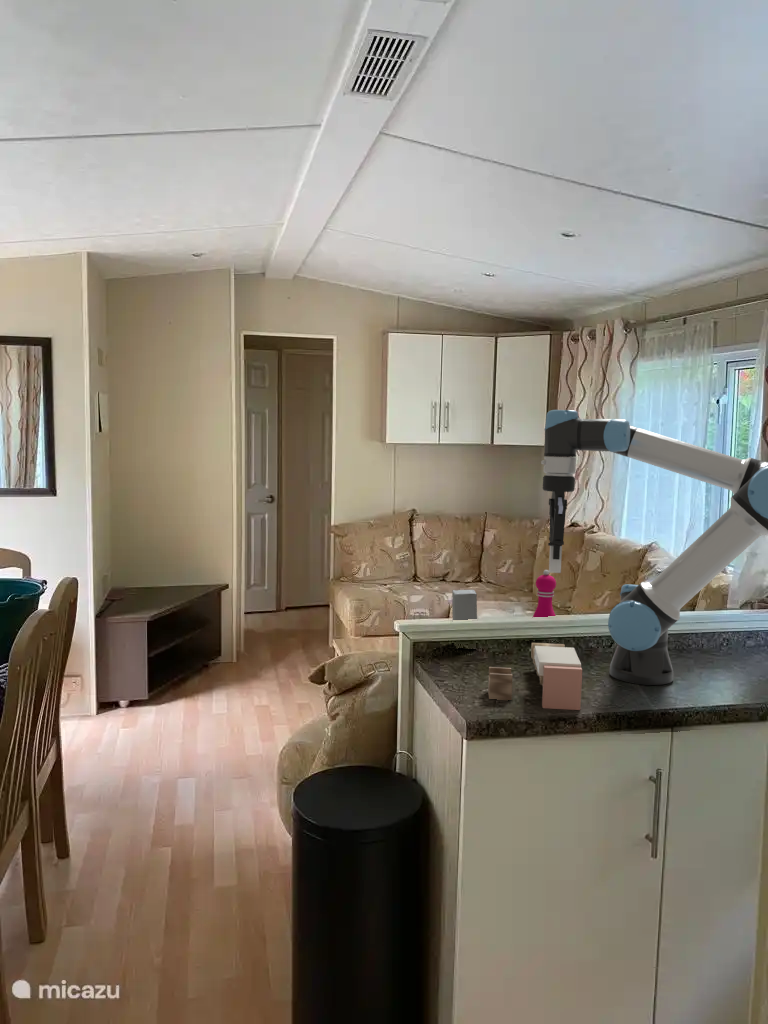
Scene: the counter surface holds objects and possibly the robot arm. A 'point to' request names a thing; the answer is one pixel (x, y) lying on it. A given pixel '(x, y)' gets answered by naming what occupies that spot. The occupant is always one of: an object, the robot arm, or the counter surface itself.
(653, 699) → the counter surface
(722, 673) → the counter surface
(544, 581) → the pepper mill
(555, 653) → the slab
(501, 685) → the pedestal
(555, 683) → the block
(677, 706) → the counter surface
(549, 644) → the roller bed
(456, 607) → the skincare box
